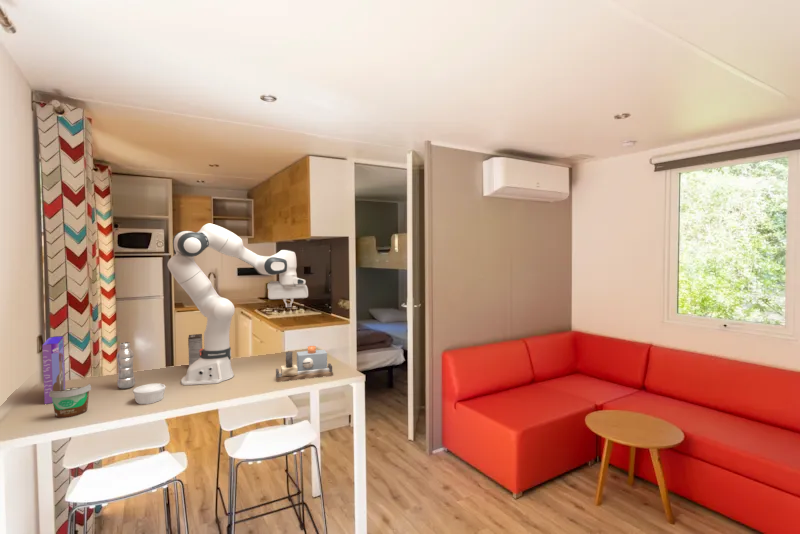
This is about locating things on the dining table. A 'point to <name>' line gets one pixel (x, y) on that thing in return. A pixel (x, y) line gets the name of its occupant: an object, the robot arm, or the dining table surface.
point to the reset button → (311, 349)
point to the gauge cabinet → (311, 360)
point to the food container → (70, 401)
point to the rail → (305, 374)
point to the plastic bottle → (125, 366)
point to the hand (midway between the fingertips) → (288, 307)
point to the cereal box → (53, 366)
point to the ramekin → (149, 393)
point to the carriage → (289, 366)
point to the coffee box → (194, 347)
